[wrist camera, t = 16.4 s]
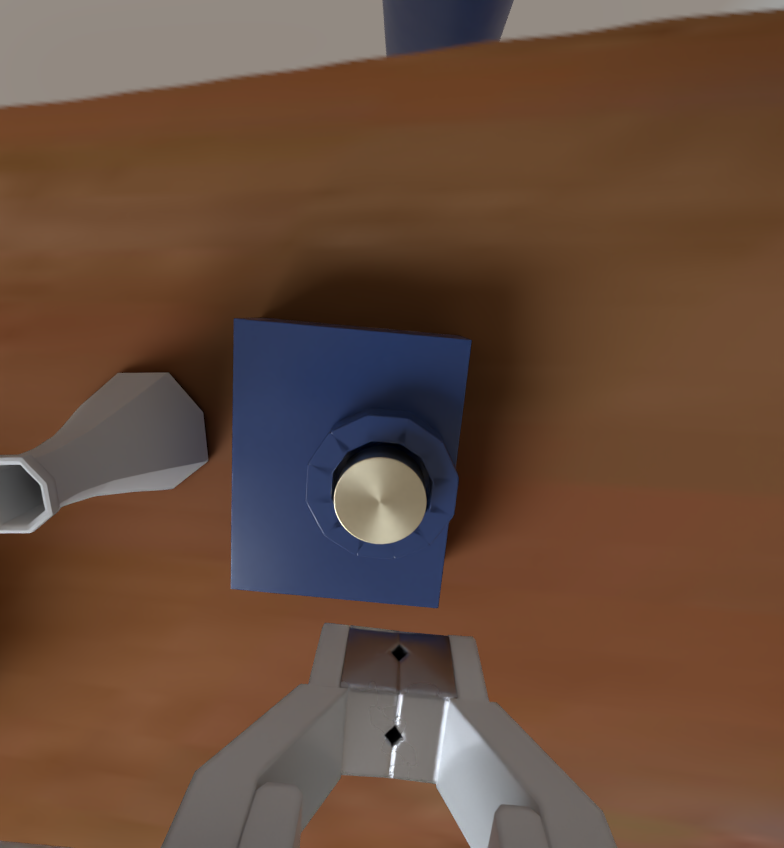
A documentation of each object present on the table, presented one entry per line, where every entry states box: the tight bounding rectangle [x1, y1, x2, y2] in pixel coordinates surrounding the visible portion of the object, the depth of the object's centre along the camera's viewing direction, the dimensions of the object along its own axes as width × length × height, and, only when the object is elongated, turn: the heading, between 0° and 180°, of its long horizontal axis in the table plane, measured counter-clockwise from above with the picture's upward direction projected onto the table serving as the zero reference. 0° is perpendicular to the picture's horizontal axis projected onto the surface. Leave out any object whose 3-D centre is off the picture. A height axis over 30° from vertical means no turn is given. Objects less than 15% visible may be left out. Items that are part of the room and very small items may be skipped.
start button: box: [334, 446, 427, 544], centre depth 21 cm, size 4×4×2 cm
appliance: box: [231, 317, 472, 608], centre depth 25 cm, size 14×11×6 cm
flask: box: [0, 372, 208, 533], centre depth 23 cm, size 7×7×10 cm
